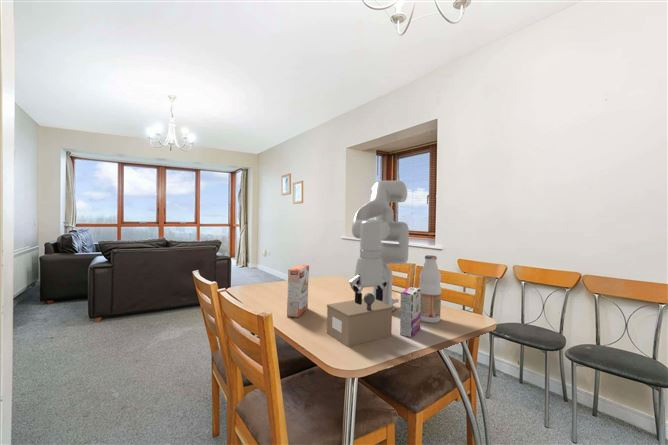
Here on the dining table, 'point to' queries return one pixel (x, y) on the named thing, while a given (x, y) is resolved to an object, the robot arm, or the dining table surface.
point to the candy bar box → (410, 311)
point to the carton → (359, 326)
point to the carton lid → (359, 306)
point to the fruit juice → (430, 290)
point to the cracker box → (297, 290)
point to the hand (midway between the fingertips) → (369, 301)
